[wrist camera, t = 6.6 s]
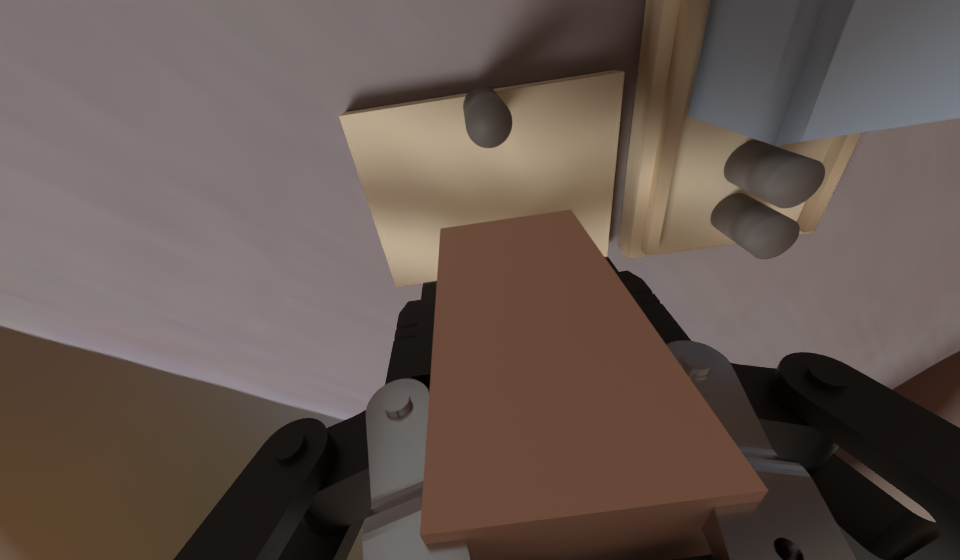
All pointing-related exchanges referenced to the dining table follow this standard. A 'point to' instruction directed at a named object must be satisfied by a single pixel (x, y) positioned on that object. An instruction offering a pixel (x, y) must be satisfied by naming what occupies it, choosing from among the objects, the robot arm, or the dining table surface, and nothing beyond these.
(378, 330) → the dining table surface
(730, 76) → the cover
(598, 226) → the pin seat
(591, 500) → the block
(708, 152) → the base
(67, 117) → the dining table surface
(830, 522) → the robot arm
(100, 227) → the dining table surface
